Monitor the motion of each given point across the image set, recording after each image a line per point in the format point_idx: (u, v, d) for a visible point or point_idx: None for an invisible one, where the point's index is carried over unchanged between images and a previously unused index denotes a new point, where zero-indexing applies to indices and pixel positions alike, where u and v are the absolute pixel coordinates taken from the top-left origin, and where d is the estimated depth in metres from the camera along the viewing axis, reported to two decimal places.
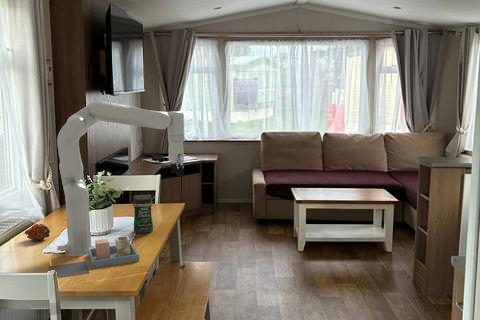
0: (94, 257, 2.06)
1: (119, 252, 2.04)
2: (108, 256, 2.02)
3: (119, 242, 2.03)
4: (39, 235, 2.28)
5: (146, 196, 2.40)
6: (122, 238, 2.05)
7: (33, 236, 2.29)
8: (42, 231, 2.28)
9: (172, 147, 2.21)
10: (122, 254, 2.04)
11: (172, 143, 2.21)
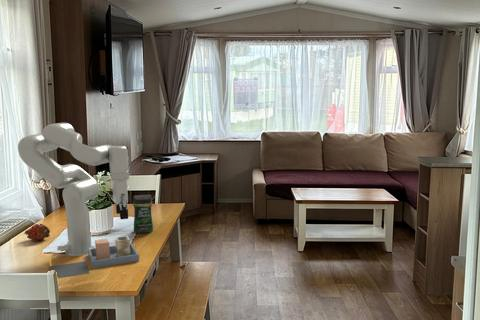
0: (94, 257, 2.06)
1: (119, 252, 2.04)
2: (108, 256, 2.02)
3: (119, 242, 2.03)
4: (39, 235, 2.28)
5: (146, 196, 2.40)
6: (122, 238, 2.05)
7: (33, 236, 2.29)
8: (42, 231, 2.28)
9: (114, 186, 1.98)
10: (122, 254, 2.04)
11: (114, 182, 1.98)
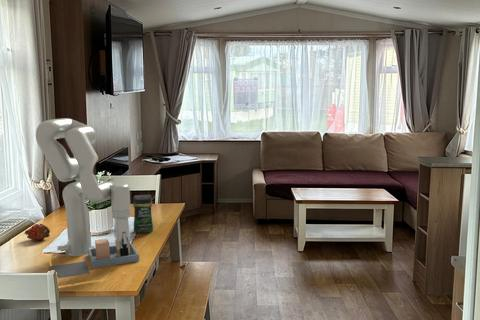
0: (94, 257, 2.06)
1: (119, 252, 2.04)
2: (108, 256, 2.02)
3: (119, 242, 2.03)
4: (39, 235, 2.28)
5: (146, 196, 2.40)
6: None
7: (33, 236, 2.29)
8: (42, 231, 2.28)
9: (116, 224, 2.01)
10: None
11: (116, 220, 2.01)
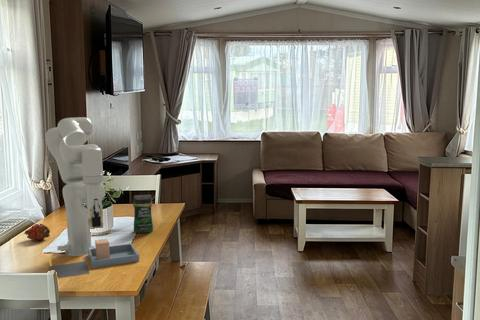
0: (94, 257, 2.06)
1: (91, 221, 1.88)
2: (108, 256, 2.02)
3: (91, 210, 1.87)
4: (39, 235, 2.28)
5: (146, 196, 2.40)
6: None
7: (33, 236, 2.29)
8: (42, 231, 2.28)
9: (87, 190, 1.85)
10: None
11: (87, 186, 1.85)
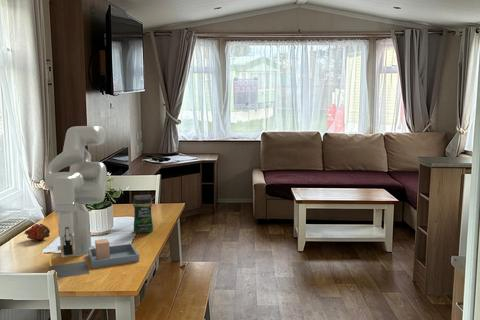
0: (94, 257, 2.06)
1: (62, 249, 1.88)
2: (108, 256, 2.02)
3: (62, 238, 1.88)
4: (39, 235, 2.28)
5: (146, 196, 2.40)
6: None
7: (33, 236, 2.29)
8: (42, 231, 2.28)
9: (58, 219, 1.86)
10: None
11: (58, 214, 1.86)
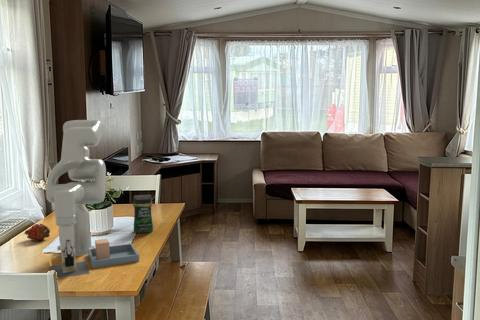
0: (94, 257, 2.06)
1: (64, 265, 1.90)
2: (108, 256, 2.02)
3: (64, 254, 1.89)
4: (39, 235, 2.28)
5: (146, 196, 2.40)
6: None
7: (33, 236, 2.29)
8: (42, 231, 2.28)
9: (59, 232, 1.87)
10: (67, 267, 1.90)
11: (59, 227, 1.87)
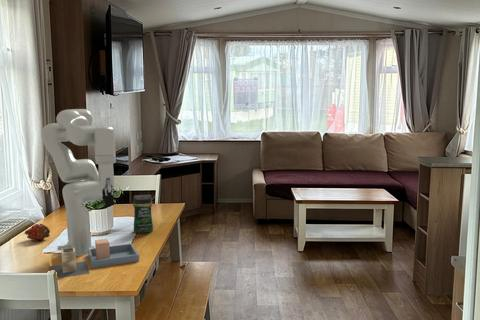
0: (94, 257, 2.06)
1: (64, 265, 1.90)
2: (108, 256, 2.02)
3: (64, 254, 1.89)
4: (39, 235, 2.28)
5: (146, 196, 2.40)
6: (67, 250, 1.91)
7: (33, 236, 2.29)
8: (42, 231, 2.28)
9: (99, 170, 1.83)
10: (67, 267, 1.90)
11: (99, 165, 1.83)
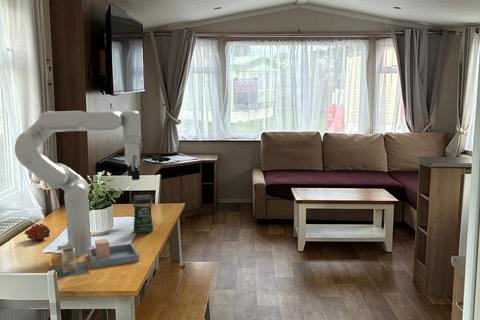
0: (94, 257, 2.06)
1: (64, 265, 1.90)
2: (108, 256, 2.02)
3: (64, 254, 1.89)
4: (39, 235, 2.28)
5: (146, 196, 2.40)
6: (67, 250, 1.91)
7: (33, 236, 2.29)
8: (42, 231, 2.28)
9: (127, 148, 2.09)
10: (67, 267, 1.90)
11: (127, 144, 2.09)
